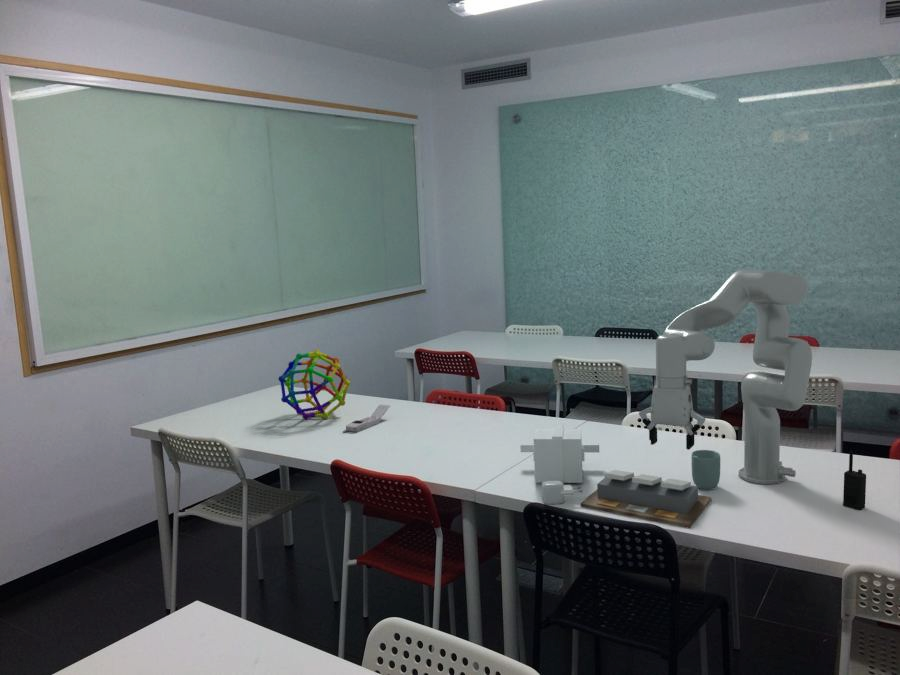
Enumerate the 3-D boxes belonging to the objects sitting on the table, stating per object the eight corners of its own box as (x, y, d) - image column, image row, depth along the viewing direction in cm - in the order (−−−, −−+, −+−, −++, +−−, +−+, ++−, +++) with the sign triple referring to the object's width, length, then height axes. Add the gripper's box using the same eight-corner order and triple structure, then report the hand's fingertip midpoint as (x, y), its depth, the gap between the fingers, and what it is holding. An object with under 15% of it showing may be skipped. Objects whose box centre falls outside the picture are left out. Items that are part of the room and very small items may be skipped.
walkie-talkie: (866, 507, 186) (868, 452, 184) (859, 511, 184) (861, 455, 182) (847, 502, 190) (848, 448, 188) (840, 505, 188) (842, 451, 186)
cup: (688, 482, 210) (688, 450, 209) (716, 482, 209) (716, 449, 208) (695, 492, 203) (695, 458, 201) (723, 492, 202) (723, 458, 200)
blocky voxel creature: (599, 461, 238) (601, 486, 210) (524, 460, 243) (516, 485, 215) (597, 417, 237) (599, 437, 209) (522, 418, 241) (515, 437, 214)
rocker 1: (633, 477, 203) (634, 472, 203) (623, 480, 196) (623, 476, 196) (615, 474, 206) (615, 469, 206) (604, 477, 200) (604, 473, 200)
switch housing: (698, 500, 194) (698, 484, 194) (687, 513, 186) (687, 496, 186) (611, 485, 209) (610, 470, 208) (597, 497, 201) (597, 481, 200)
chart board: (711, 500, 196) (711, 496, 196) (690, 528, 180) (689, 523, 180) (608, 482, 213) (608, 478, 213) (580, 506, 197) (580, 502, 197)
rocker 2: (661, 481, 198) (661, 477, 198) (651, 485, 192) (652, 480, 192) (642, 478, 202) (642, 474, 202) (631, 481, 195) (632, 477, 195)
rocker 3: (690, 486, 194) (690, 481, 194) (681, 490, 187) (682, 485, 187) (670, 482, 197) (670, 478, 197) (660, 486, 190) (661, 482, 190)
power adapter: (580, 497, 204) (580, 477, 203) (583, 504, 199) (583, 484, 198) (541, 499, 204) (541, 479, 203) (543, 506, 199) (543, 486, 198)
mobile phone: (391, 405, 298) (351, 420, 278) (392, 418, 299) (353, 435, 279) (380, 403, 302) (340, 418, 281) (381, 417, 302) (341, 433, 282)
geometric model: (369, 357, 309) (312, 336, 320) (330, 369, 282) (270, 345, 293) (355, 421, 316) (300, 398, 327) (316, 438, 289) (258, 413, 300)
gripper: (709, 381, 183) (709, 446, 186) (643, 376, 193) (644, 437, 196) (700, 388, 177) (700, 454, 180) (633, 382, 187) (634, 445, 190)
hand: (671, 445), depth 188 cm, fingers open, 9 cm apart
